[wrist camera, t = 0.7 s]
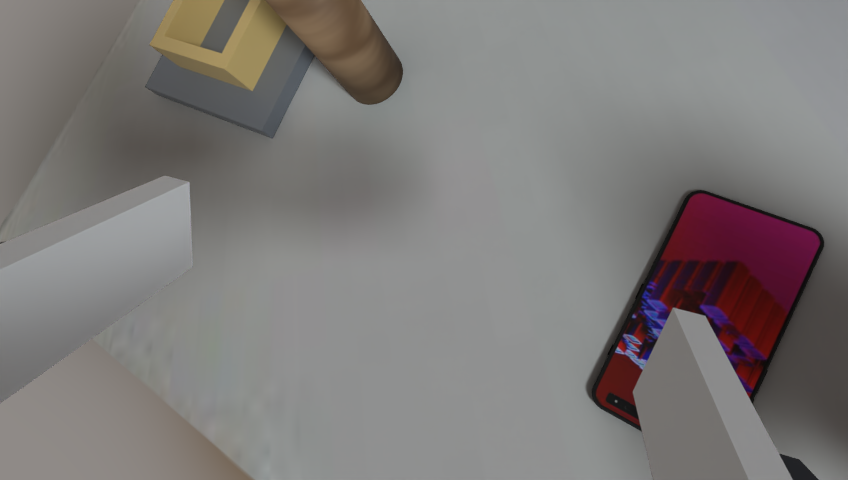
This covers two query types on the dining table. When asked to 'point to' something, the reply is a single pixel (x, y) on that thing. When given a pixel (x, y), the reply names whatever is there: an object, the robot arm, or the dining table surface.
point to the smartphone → (715, 292)
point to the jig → (229, 61)
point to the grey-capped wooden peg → (345, 45)
